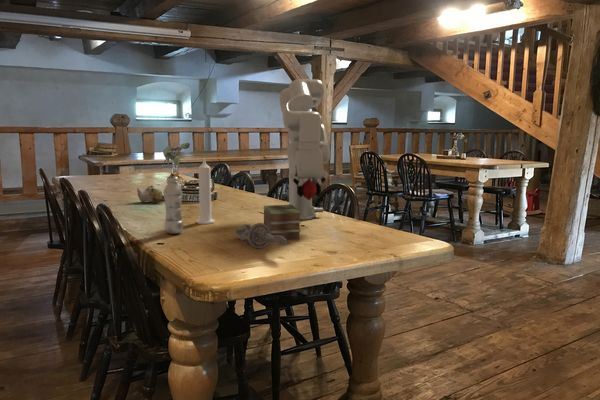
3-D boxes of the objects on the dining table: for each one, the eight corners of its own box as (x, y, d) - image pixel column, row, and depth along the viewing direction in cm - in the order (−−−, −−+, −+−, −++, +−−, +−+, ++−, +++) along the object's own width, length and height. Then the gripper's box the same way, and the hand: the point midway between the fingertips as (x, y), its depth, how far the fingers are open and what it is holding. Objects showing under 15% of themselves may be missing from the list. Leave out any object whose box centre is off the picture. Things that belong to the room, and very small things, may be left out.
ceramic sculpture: (139, 183, 246) (170, 185, 248) (139, 200, 248) (170, 202, 249) (134, 186, 236) (166, 188, 237) (134, 204, 237) (166, 206, 238)
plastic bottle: (167, 236, 171) (165, 178, 168) (162, 232, 177) (160, 176, 174) (185, 234, 174) (184, 177, 171) (181, 230, 180) (179, 175, 177)
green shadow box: (291, 232, 178) (291, 204, 176) (300, 239, 167) (300, 209, 166) (263, 234, 175) (263, 205, 173) (271, 241, 164) (271, 210, 163)
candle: (210, 224, 191) (209, 159, 187) (193, 223, 192) (191, 159, 189) (217, 221, 198) (216, 158, 194) (200, 220, 199) (199, 157, 195)
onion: (311, 201, 179) (311, 179, 177) (297, 200, 182) (298, 178, 180) (319, 199, 184) (319, 178, 182) (306, 197, 187) (306, 176, 185)
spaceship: (270, 235, 137) (292, 222, 141) (222, 226, 167) (242, 215, 171) (281, 260, 139) (303, 246, 143) (232, 246, 169) (251, 235, 173)
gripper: (328, 145, 185) (327, 193, 189) (283, 146, 180) (283, 195, 184) (335, 147, 178) (334, 196, 182) (289, 147, 173) (289, 198, 177)
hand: (308, 195), depth 183 cm, fingers closed on onion, 5 cm apart
